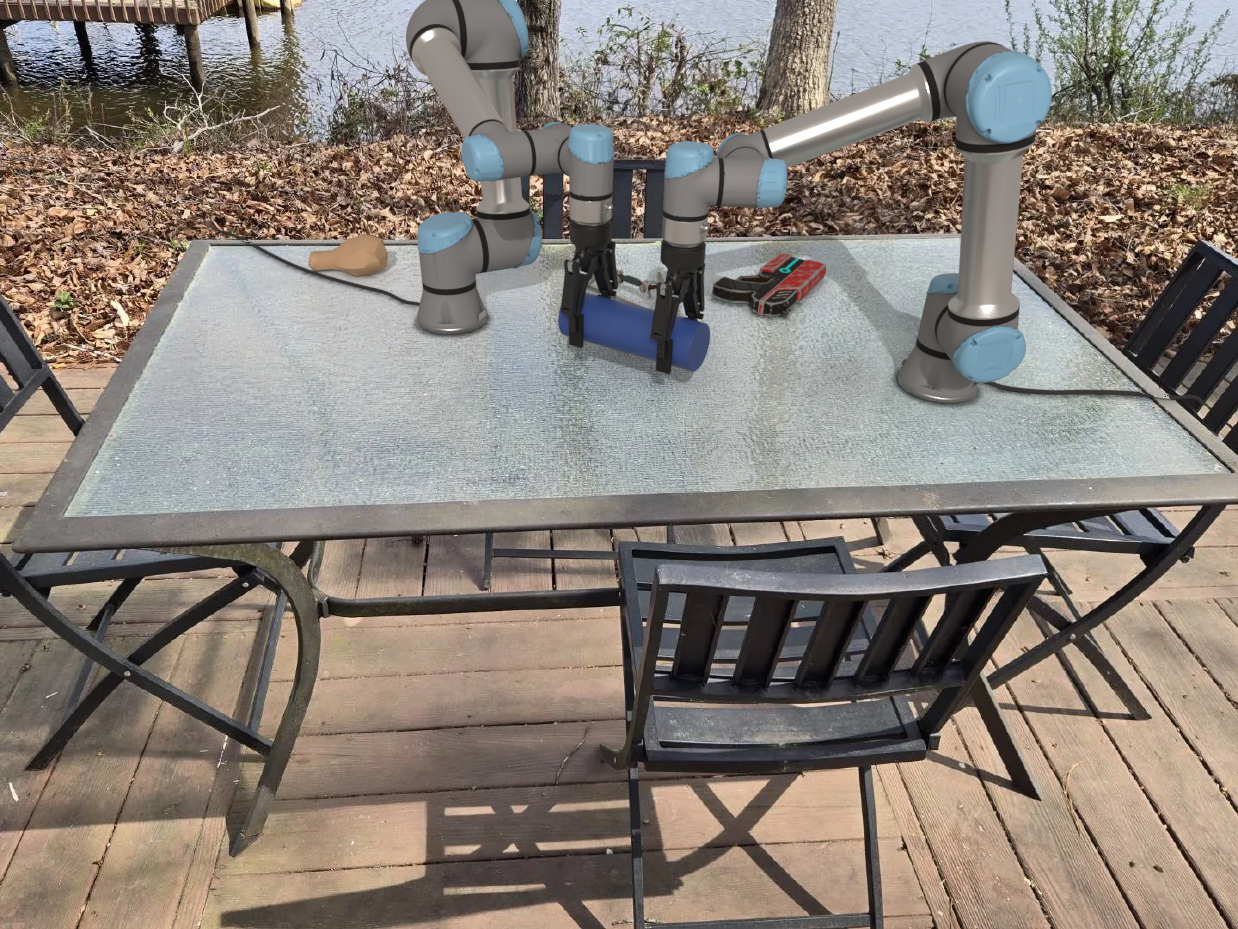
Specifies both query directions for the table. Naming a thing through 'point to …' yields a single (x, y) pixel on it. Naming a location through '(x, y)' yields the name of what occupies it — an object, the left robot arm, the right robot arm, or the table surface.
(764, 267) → the gun
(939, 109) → the right robot arm
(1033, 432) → the table surface
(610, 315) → the rod
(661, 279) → the bow
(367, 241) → the squash
